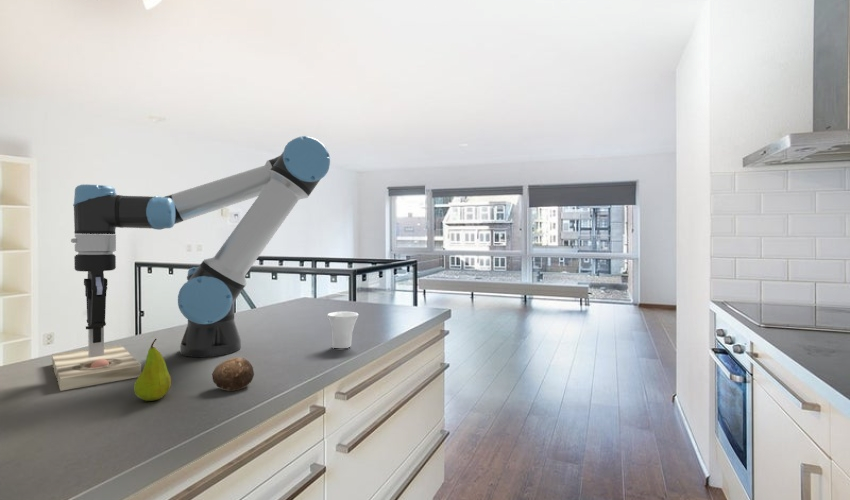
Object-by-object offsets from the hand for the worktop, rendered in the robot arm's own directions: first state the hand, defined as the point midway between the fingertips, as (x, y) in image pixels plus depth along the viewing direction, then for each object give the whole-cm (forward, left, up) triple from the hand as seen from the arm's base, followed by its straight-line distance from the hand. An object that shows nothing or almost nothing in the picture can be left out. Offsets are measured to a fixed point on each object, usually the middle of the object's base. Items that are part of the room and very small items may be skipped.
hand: (96, 355), depth 100 cm
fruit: (-23, +14, -4) cm, 28 cm away
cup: (-51, -28, -4) cm, 58 cm away
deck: (+2, -2, -4) cm, 5 cm away
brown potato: (-35, +6, -4) cm, 36 cm away
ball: (-2, +1, -2) cm, 3 cm away
